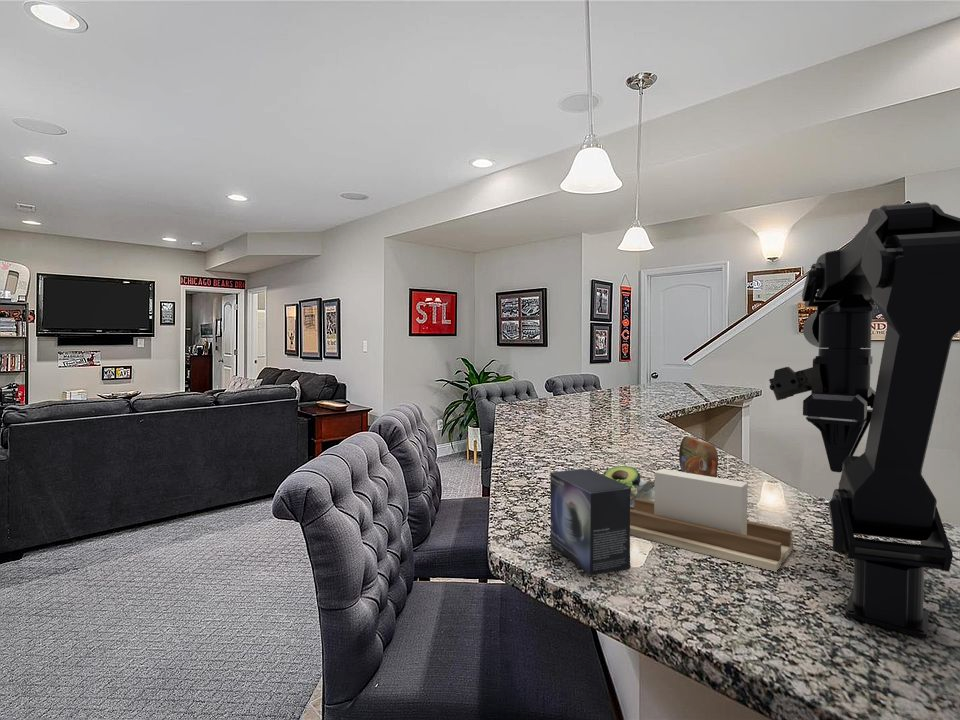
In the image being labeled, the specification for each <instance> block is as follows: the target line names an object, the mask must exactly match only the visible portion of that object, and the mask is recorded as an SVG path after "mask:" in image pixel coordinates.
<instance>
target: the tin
mask: <svg viewBox="0 0 960 720" xmlns="http://www.w3.org/2000/svg"><path fill="white" fill-rule="evenodd" d="M678 462H679V468H680V470H681V471H680V472H685V473H691V474H697V475H704V476H710V477H716V478H718V467H719V454H718V451H717V448H716V447H715V445H714V444H712V443H710V442H708V441H705V440H703V439H701V438H699V437H694V436H693V437H692V436H684V437H683V438H682V440H681V442H680V445H679V450H678Z"/></svg>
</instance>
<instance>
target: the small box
mask: <svg viewBox="0 0 960 720" xmlns="http://www.w3.org/2000/svg"><path fill="white" fill-rule="evenodd" d="M549 473H550V474H549V477H550V478H549V479H550V480H549V481H550V482H549V483H550V485H549V486H550V494H549V495H550V497H549V498H550V536H549V537H550V542H549V543H550V546H552V547H553V548H554V549H556V550H557V551H558V552H559V553H561V554H562V555H563V556H565V557H566V558H567V559H569V560H570V561H571V562H573V563H574V564H575V565H576V566H578V567H579V568H580V569H581V570H583V571H584V572H585V573H586V574H588V575H589V576H593V575H599V574H605V573H611V572H612V573H613V572H616V571H621V570H629V569H630V568H631V535H630V497H631V487H630V486H628V485H625V484H623V483H620V482H618V481H616V480H613V479H611V478H609V477H606V476H604V474H601V473H599V472H597V471H595V470H592V469H590V468H587V467H585V468H578V469H568V470H561V471H552V472H549Z"/></svg>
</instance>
